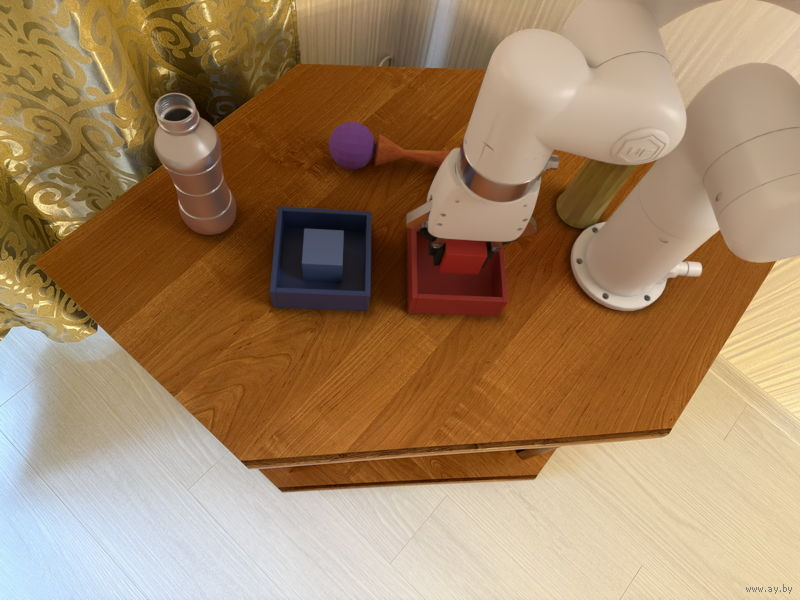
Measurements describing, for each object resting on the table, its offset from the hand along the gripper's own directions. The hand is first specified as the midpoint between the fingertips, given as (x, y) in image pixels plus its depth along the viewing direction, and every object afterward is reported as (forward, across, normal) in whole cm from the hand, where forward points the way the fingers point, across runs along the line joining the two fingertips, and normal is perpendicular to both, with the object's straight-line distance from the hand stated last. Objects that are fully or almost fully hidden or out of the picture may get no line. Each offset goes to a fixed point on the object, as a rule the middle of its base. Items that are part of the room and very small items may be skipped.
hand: (458, 255), depth 70 cm
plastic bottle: (+5, +30, -6) cm, 31 cm away
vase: (+5, -18, -10) cm, 21 cm away
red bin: (+5, 0, 0) cm, 5 cm away
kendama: (+5, +6, -16) cm, 18 cm away
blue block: (+5, +16, 0) cm, 16 cm away
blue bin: (+5, +16, 0) cm, 17 cm away
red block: (0, 0, 0) cm, 0 cm away
